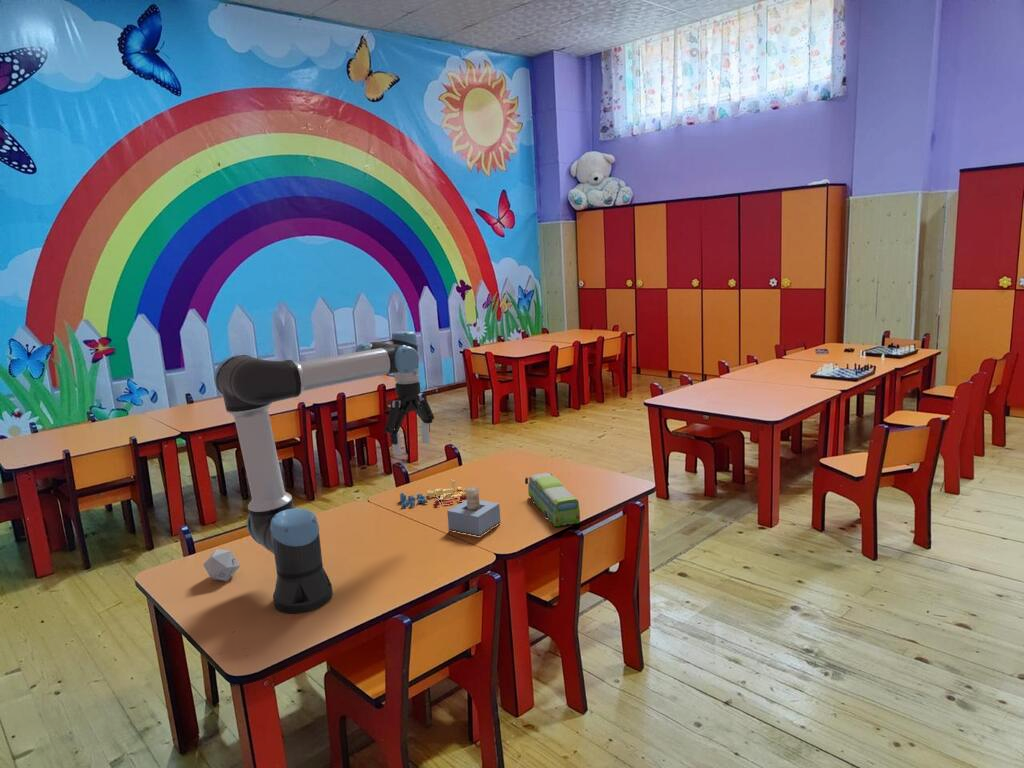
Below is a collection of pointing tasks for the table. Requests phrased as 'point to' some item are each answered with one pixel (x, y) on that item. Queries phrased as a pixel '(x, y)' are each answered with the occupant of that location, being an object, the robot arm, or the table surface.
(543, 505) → the toy bus
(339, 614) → the table surface
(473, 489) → the peg
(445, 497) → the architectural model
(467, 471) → the table surface
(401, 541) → the table surface
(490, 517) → the socket block
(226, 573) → the die
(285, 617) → the table surface
